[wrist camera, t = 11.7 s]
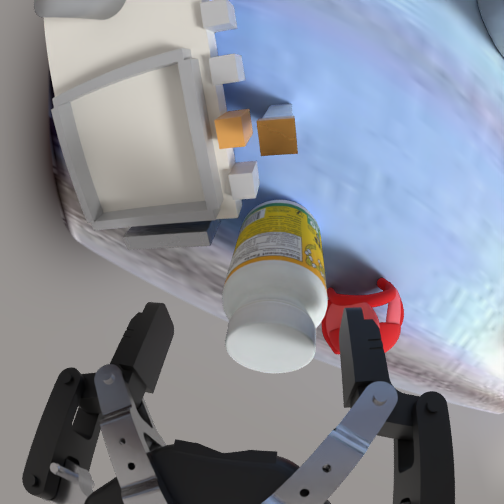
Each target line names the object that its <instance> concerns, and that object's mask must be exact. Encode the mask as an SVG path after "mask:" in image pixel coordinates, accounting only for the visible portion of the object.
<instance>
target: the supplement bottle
mask: <svg viewBox="0 0 504 504" xmlns="http://www.w3.org/2000/svg"><path fill="white" fill-rule="evenodd" d="M327 303H328V298H327V286H326V278H325V269H324V260H323V251H322V243H321V235H320V230H319V226H318V224H317V222H316V220H315V219H314V217H313V216H312V215H311V213H310V212H309V211H308V210H307V209H306V208H304V207H303V206H301V205H300V204H298V203H296V202H292V201H288V200H271V201H267V202H264V203H262V204H260V205H258V206H256V207H255V208H253V209H252V210H251V211H250V212H249V213H248V215H247V216H246V217H245V219H244V221H243V224H242V226H241V229H240V232H239V236H238V240H237V243H236V247H235V251H234V254H233V257H232V260H231V264H230V267H229V270H228V274H227V277H226V281H225V285H224V288H223V294H222V304H223V308H224V311H225V314H226V316H227V317H228V319H229V323H228V330H227V335H226V340H225V345H226V349H227V352H228V354H229V355H230V356H231V358H232V359H234V360H235V361H236V362H238V363H239V364H241V365H242V366H244V367H246V368H249V369H252V370H256V371H259V372H265V373H285V372H290V371H295V370H297V369H300V368H302V367H304V366H305V365H307V364H308V363H309V362H310V361H311V360H312V358H313V357H314V354H315V350H316V328H317V327H318V325H319V324H320V323H321V321H322V320H323V318H324V316H325V313H326V310H327Z"/></svg>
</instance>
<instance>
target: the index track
mask: <svg viewBox="0 0 504 504" xmlns="http://www.w3.org/2000/svg"><path fill="white" fill-rule="evenodd" d="M257 129H258V136H259V144H260V152H261V156H268V155H282V154H298V151H297V139H296V128H295V118H294V116H293V113H292V104H279V105H270V107H269V108H268V110H267V112H266V113H265V115H264V117H263V118H259V119H258V120H257ZM220 222H221V220H220V219H216V220H210V221H196V222H183V223H170V224H158V225H146V226H135V227H131V228H130V229H129V230H128V232H127V233H126V234H125V235H124V236H123V239H124V242H125V244H126V246H127V249H128V250H131V249H152V248H174V247H196V246H210V245H211V243H212V240H213V238H214V236H215V233H216V231H217V229H218V226H219V224H220Z"/></svg>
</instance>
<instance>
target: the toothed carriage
mask: <svg viewBox="0 0 504 504" xmlns="http://www.w3.org/2000/svg"><path fill="white" fill-rule="evenodd" d="M34 9H35V12H36V14H37V15H38V16H39V17H44V29H45V39H46V46H47V54H48V61H49V67H50V73H51V79H52V84H53V89H54V94H55V97H54V98H53V99H52V100H53V105H54V108H53V109H51V112H52V116H53V120H54V124H55V128H56V131H57V135H58V139H59V142H60V146H61V149H62V153H63V156H64V159H65V162H66V165H67V168H68V171H69V174H70V177H71V180H72V183H73V186H74V189H75V192H76V194H77V197H78V200H79V202H80V205H81V208H82V210H83V213H84V215H85V218H86V220H87V223H90V222H91V224H92V227H93V229H94V230H104V229H114V228H124V227H135V226H146V225H158V224H170V223H183V222H196V221H210V220H216V219H229V218H238V216H239V214H240V211H241V208H242V199H253V198H256V195H257V192H258V188H259V184H260V182H259V175H258V167H257V161H248V162H237V163H235V157H234V150H233V148H234V147H244V146H246V144H247V143H248V141H249V139H250V137H251V136H252V134H253V131H252V123H251V116H250V109H243V110H235V111H227V107H226V101H225V95H224V89H223V84H226V83H233V82H239V81H244V80H245V75H244V68H243V62H242V56H241V55H237V54H229V55H223V56H218V52H217V45H216V39H215V33H216V32H221V31H226V30H232V29H237V23H236V17H235V11H234V6H233V5H232V4H231V3H230V2H229V1H228V0H211V1H209V0H35V1H34Z"/></svg>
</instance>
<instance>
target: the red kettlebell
mask: <svg viewBox="0 0 504 504" xmlns="http://www.w3.org/2000/svg"><path fill="white" fill-rule="evenodd" d="M377 286H378V287H379V288H380V289H381V290H383V291H382V292H379V293H374V294H369V295H344V294H337V293H336V292H335V291H334V289H333V288H331V287H330V288H328V290H327V296H328V298H329V300H328V303H327V310H326V313H325V316H324V318H323V320H322V333H323V336H324V338H325V340H326V342H327V343H328V345H329V346H330V348H331V349H332V351H333V352H334V353H335V354H340V347H339V331H340V325H341V320H342V315H343V310H344V308H353V307H361V308H362V311H363V316H364V319H373V320H374V322H375V323H376V324H377V326H378V327H379V329H380V333H381V338H382V339H381V340H382V343H383V349H384V353H385V352H387V351H388V350H389V349H391V348H392V347H393V346H394V344H395V343H396V342H397V340H398V338H399V335H400V331H401V325H402V322H403V318H404V309H403V304H402V301H401V298H400V296H399V293H398V291H397V289H396V288H395V287H394V286H393V285H392V284H391V283H390V282H388V281H387V280H386V279H384V278H380V279H378V281H377ZM387 303H388V309H387V317H386V322H381V323H379V320H378V317H377V315H376V313H375V311H374V310H373V308H372V307H377V306H381V305H384V304H387Z"/></svg>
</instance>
